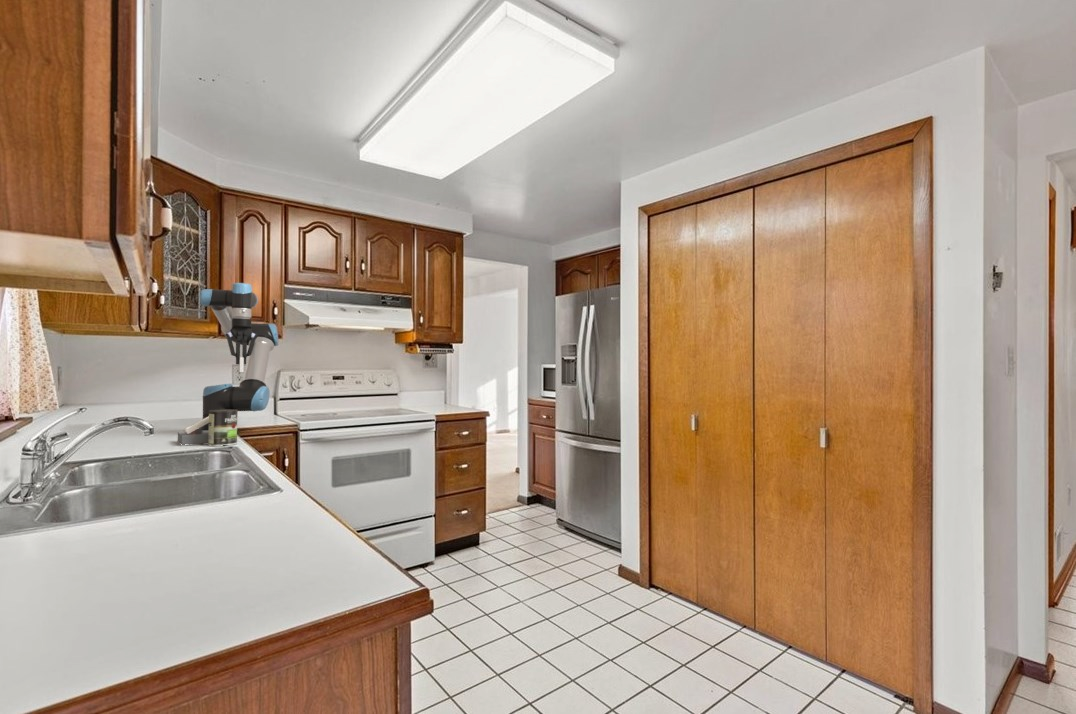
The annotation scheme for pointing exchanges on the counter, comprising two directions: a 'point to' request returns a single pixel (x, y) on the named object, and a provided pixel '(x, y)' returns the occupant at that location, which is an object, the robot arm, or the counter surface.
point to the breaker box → (193, 437)
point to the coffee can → (222, 427)
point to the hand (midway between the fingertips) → (240, 371)
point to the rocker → (197, 425)
